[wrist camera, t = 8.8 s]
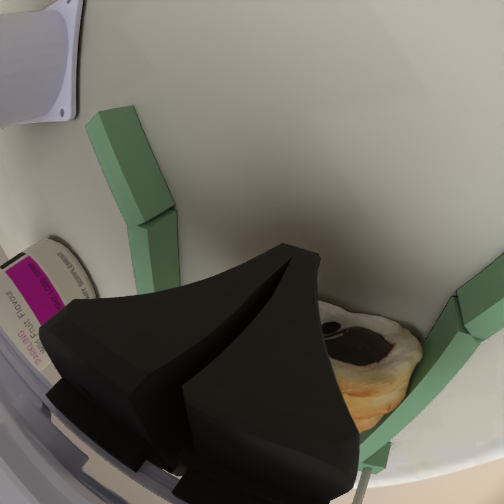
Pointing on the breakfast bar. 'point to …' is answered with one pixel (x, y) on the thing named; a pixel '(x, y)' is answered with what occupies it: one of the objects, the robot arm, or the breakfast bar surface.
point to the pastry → (369, 361)
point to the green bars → (167, 276)
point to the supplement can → (39, 293)
